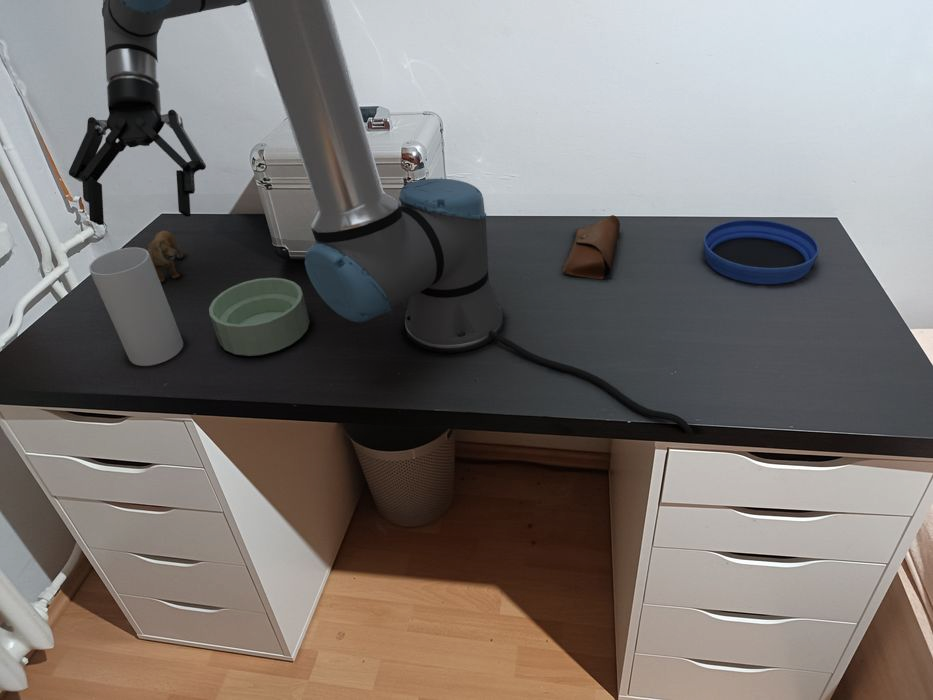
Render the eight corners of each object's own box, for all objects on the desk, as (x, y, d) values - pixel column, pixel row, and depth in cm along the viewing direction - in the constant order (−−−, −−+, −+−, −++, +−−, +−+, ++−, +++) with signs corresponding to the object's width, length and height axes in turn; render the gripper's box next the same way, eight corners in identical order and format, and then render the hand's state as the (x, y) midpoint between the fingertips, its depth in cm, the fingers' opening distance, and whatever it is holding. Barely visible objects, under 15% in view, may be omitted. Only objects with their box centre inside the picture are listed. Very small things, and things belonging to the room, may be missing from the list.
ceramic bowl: (328, 322, 111) (320, 290, 107) (262, 369, 102) (252, 336, 98) (267, 300, 118) (259, 270, 114) (201, 342, 108) (189, 311, 105)
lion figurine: (187, 284, 124) (171, 240, 119) (156, 291, 123) (139, 247, 118) (183, 251, 136) (169, 209, 130) (155, 257, 134) (139, 215, 129)
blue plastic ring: (796, 236, 123) (800, 218, 121) (828, 287, 109) (834, 267, 107) (693, 237, 126) (696, 219, 124) (711, 288, 111) (714, 269, 109)
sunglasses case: (574, 227, 131) (593, 200, 127) (605, 246, 132) (625, 219, 128) (560, 274, 117) (581, 245, 113) (595, 294, 118) (617, 266, 114)
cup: (193, 338, 110) (160, 249, 100) (162, 368, 103) (124, 276, 94) (150, 333, 112) (114, 245, 102) (117, 362, 106) (75, 272, 96)
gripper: (221, 91, 111) (229, 217, 109) (68, 105, 111) (74, 232, 109) (203, 67, 104) (212, 202, 102) (39, 83, 104) (45, 219, 102)
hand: (140, 218), depth 106 cm, fingers open, 13 cm apart
